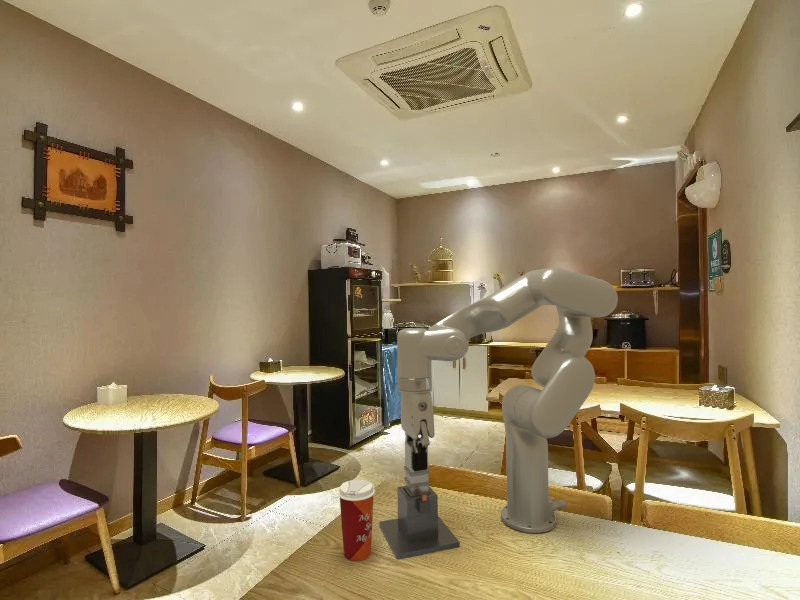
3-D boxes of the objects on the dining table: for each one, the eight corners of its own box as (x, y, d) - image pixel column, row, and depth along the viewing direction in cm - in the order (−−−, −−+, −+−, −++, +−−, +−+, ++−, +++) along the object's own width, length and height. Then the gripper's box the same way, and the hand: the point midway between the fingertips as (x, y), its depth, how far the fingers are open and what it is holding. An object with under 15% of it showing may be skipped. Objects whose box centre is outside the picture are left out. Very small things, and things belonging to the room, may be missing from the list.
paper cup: (370, 566, 87) (369, 495, 87) (333, 562, 88) (332, 492, 88) (380, 544, 94) (379, 479, 94) (346, 541, 96) (345, 477, 96)
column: (423, 517, 100) (421, 439, 100) (430, 527, 96) (428, 444, 96) (405, 520, 99) (403, 441, 99) (411, 530, 95) (409, 447, 95)
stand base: (435, 516, 106) (434, 470, 106) (459, 546, 93) (459, 494, 93) (379, 526, 102) (378, 478, 102) (396, 559, 89) (395, 505, 89)
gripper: (445, 389, 91) (447, 478, 91) (418, 376, 106) (419, 452, 106) (411, 392, 88) (412, 483, 88) (388, 379, 104) (389, 455, 104)
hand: (416, 465), depth 97 cm, fingers closed on column, 4 cm apart
